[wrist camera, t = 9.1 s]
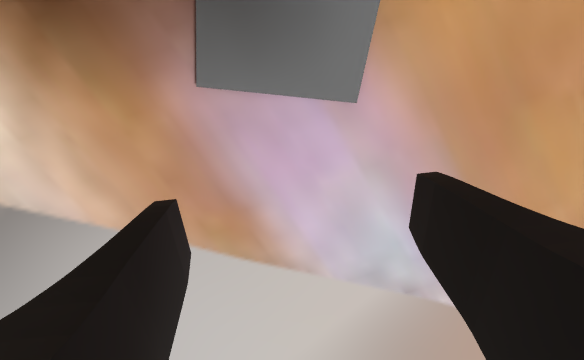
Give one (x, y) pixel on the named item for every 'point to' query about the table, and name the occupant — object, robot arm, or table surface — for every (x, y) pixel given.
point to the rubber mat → (284, 46)
